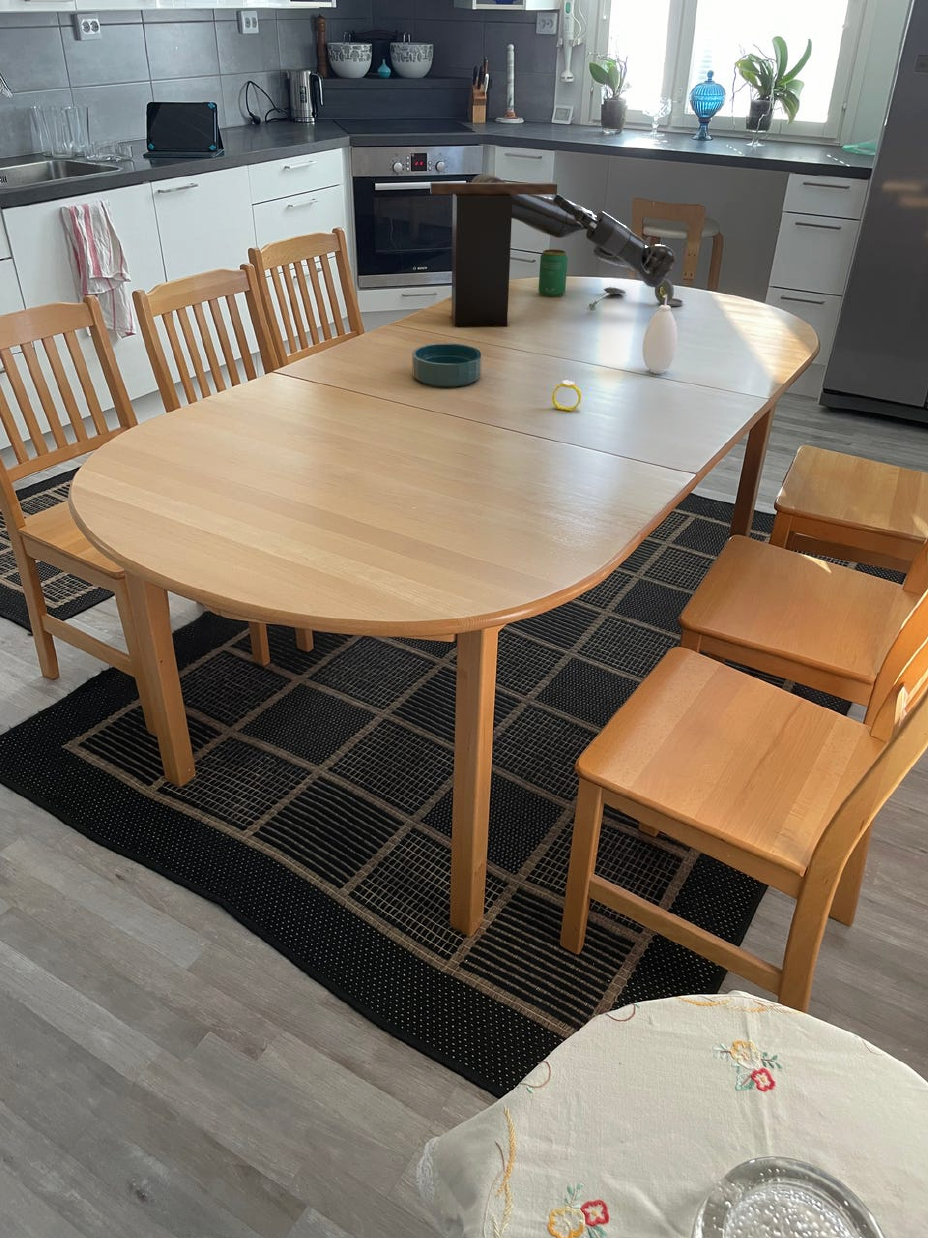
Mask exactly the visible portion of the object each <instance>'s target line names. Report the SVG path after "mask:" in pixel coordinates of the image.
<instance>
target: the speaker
mask: <svg viewBox="0 0 928 1238" xmlns="http://www.w3.org/2000/svg"><path fill="white" fill-rule="evenodd" d="M512 202H513V197H512V196H511V195H510V194H452V223H451V224H452V225H451V226H452V228H451V229H452V230H451V231H452V233H451V234H452V235H451V236H452V237H451V315H450V316H451V320H452V322H453V325H454V327H455V328H495V327H496V328H497V327H498V328H499V327H508V319H509V318H508V315H509V296H510V295H509V293H510V292H509V291H510V268H511V246H512V245H511V244H512V224H513V222H512V221H513V218H512Z"/></svg>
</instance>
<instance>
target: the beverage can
mask: <svg viewBox="0 0 928 1238" xmlns="http://www.w3.org/2000/svg"><path fill="white" fill-rule="evenodd" d="M539 258H540V259H539V275H538V292H539V295H541V296H542V297H549V298H559V297H563V296H564V294H565V293H566V286H567V275H568V274H567V272H568V262H569V261H568V260H569V256H568V254H567V251H566V250H563V249H555V248H554V249H553V248H552V249H550V248H549V249H543V251H542V253H541V255H540V257H539Z"/></svg>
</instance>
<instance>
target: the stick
mask: <svg viewBox="0 0 928 1238" xmlns="http://www.w3.org/2000/svg"><path fill="white" fill-rule="evenodd" d="M429 184H430V185H429V186H430V188H429V190H430V191H429V192H430V195H453V194H534V195H552V196H553V195H555V196H556V195H557V194H558V183H557V182H506V183H471V182H454V181H453V182H448V181H447V182H445V181H443V182H441V181H440V182H439V181H437V182H436V181H435V182H433V181H432V182H429Z"/></svg>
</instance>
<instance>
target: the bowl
mask: <svg viewBox="0 0 928 1238" xmlns="http://www.w3.org/2000/svg"><path fill="white" fill-rule="evenodd" d="M482 355H483V354H482V352H481V351H480V350H479V349H477V348H475V347H473V346H469V345H466V344H459V343H431V344H425V345H422V346H419V347H417V348H416V349H413V351H412V352H411V374H412V377H413V378H414V379H416V380H417V381H419V382H420V383H422V384H425V385H427V386H431V387H437V388H457V387H464V386H467V385H470V384H473V383H474V382H476V381H477V380H479V379H480V378H481V376H482V357H483V356H482Z"/></svg>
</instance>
